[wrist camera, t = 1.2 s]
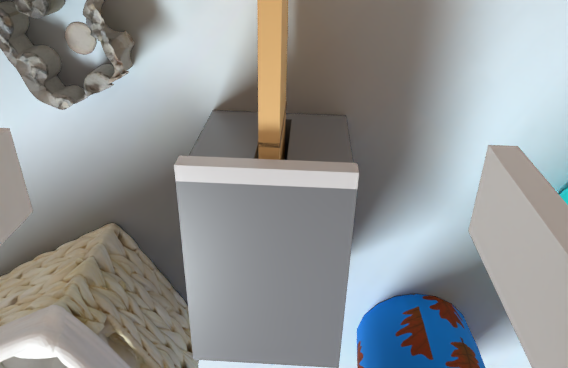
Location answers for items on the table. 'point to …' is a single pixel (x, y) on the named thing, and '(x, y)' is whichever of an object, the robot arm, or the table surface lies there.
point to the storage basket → (93, 309)
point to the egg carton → (46, 62)
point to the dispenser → (267, 240)
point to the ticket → (272, 78)
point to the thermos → (416, 335)
